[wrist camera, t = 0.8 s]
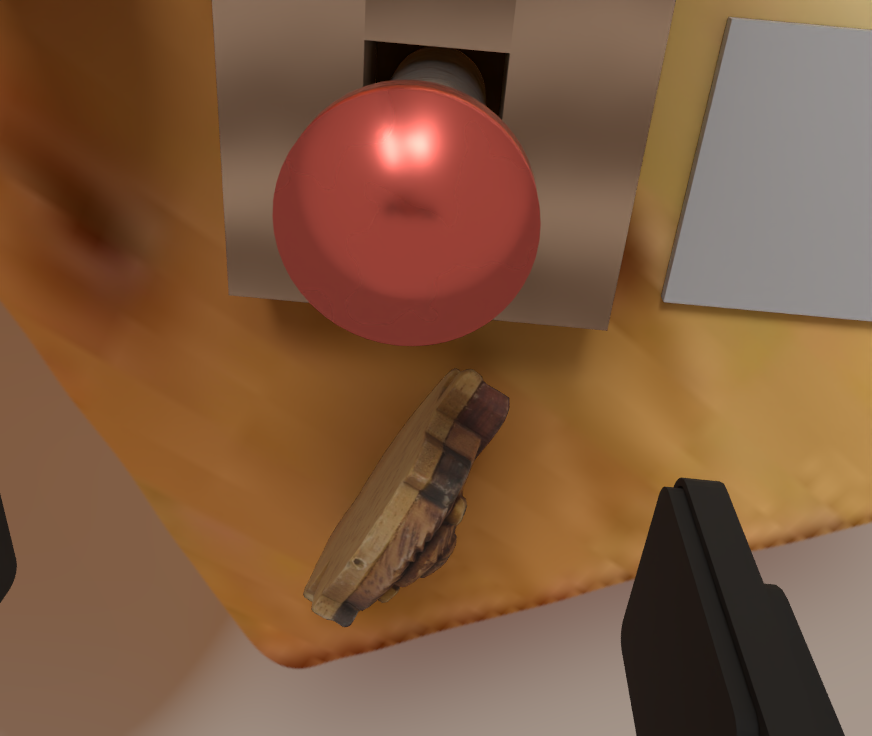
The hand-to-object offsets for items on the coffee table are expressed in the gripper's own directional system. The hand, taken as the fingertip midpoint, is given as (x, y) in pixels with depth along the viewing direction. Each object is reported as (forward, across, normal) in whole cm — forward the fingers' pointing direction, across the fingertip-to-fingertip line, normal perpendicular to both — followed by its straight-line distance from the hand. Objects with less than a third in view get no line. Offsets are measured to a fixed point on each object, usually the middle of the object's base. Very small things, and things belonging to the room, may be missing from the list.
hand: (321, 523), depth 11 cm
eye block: (+26, 0, 0) cm, 26 cm away
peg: (+26, 0, 0) cm, 26 cm away
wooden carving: (+26, 0, +18) cm, 32 cm away
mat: (+26, -16, +2) cm, 31 cm away
